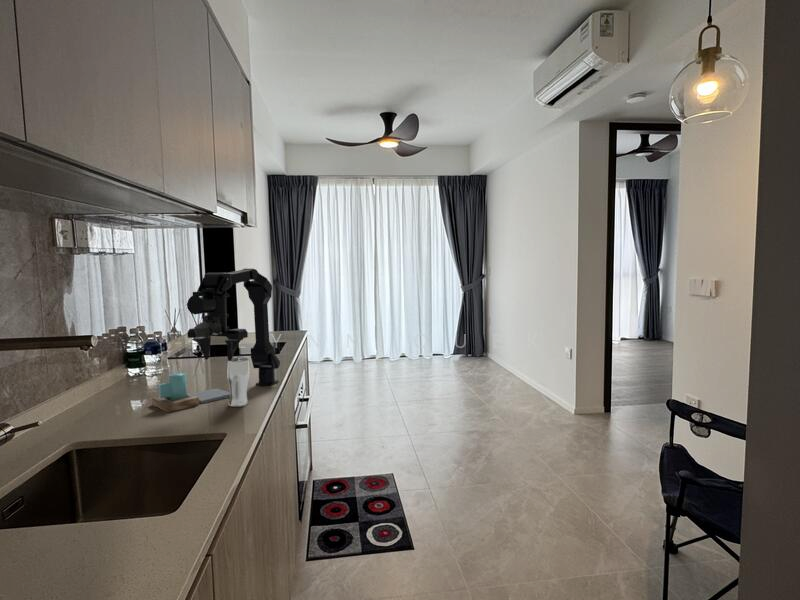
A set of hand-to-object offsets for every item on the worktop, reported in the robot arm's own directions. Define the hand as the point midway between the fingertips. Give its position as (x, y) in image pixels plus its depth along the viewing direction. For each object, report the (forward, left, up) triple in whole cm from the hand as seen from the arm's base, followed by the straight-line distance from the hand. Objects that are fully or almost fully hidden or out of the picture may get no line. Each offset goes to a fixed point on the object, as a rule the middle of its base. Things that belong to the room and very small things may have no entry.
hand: (218, 359), depth 150 cm
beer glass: (-2, +5, -15) cm, 16 cm away
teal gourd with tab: (+3, -15, -15) cm, 22 cm away
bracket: (+2, -15, -15) cm, 21 cm away
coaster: (-8, -10, -15) cm, 20 cm away
